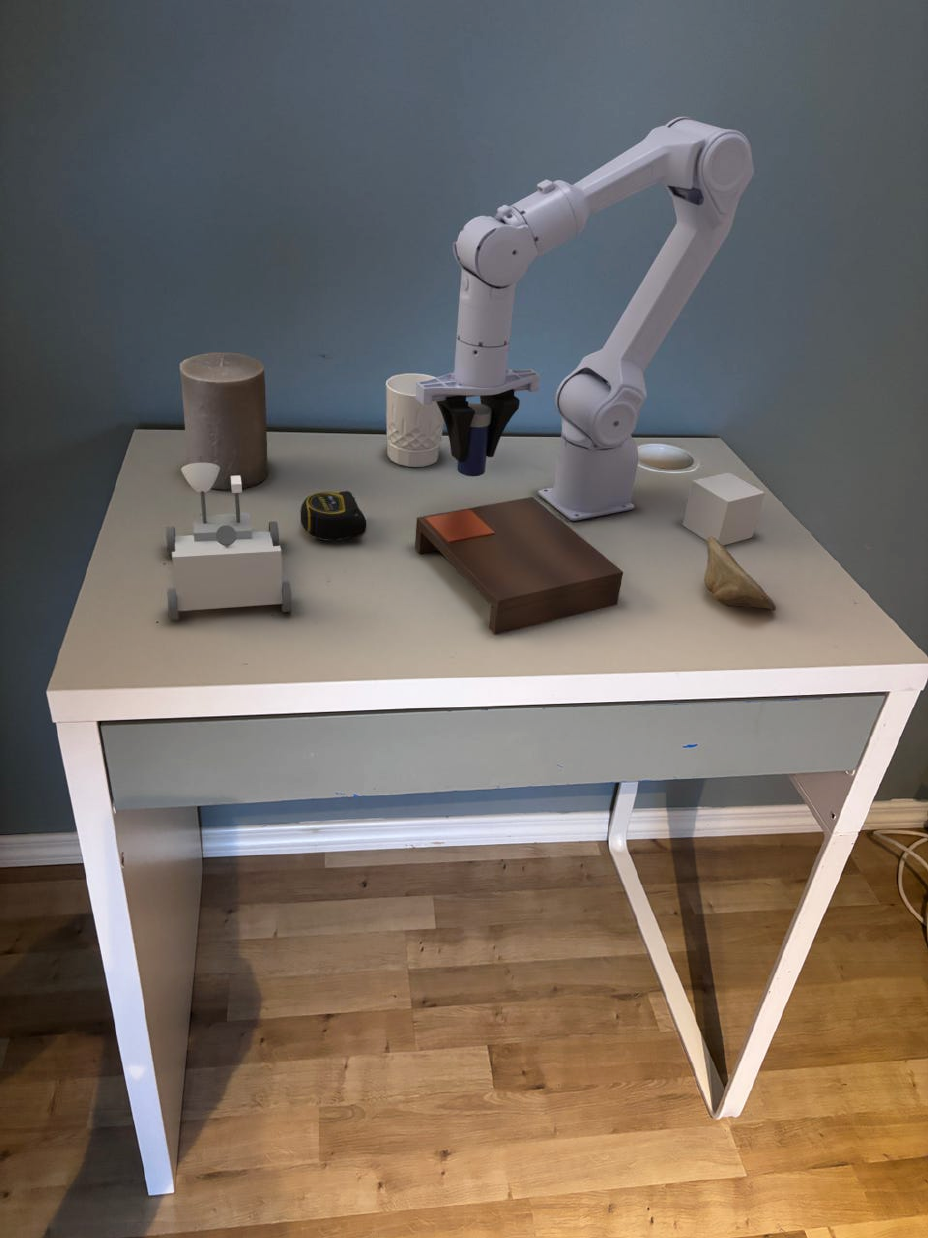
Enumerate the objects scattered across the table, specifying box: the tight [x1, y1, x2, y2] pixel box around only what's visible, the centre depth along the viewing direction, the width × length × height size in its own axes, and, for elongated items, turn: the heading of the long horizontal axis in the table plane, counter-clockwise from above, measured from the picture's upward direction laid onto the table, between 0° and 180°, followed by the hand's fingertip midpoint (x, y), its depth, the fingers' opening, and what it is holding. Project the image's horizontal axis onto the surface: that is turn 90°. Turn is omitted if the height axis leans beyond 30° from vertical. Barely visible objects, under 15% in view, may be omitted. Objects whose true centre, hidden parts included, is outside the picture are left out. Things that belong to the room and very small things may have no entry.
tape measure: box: [300, 490, 367, 541], centre depth 111 cm, size 7×7×4 cm
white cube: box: [682, 471, 765, 546], centre depth 118 cm, size 6×6×6 cm
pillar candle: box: [179, 352, 269, 491], centre depth 118 cm, size 10×10×15 cm
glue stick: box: [456, 402, 492, 477], centre depth 112 cm, size 3×3×8 cm
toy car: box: [165, 456, 293, 621], centre depth 100 cm, size 18×10×12 cm
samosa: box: [703, 536, 777, 611], centre depth 105 cm, size 9×4×10 cm
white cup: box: [385, 373, 445, 468], centre depth 127 cm, size 8×8×10 cm
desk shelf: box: [414, 496, 624, 635], centre depth 106 cm, size 15×18×4 cm
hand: (472, 455), depth 113 cm, fingers closed on glue stick, 3 cm apart
